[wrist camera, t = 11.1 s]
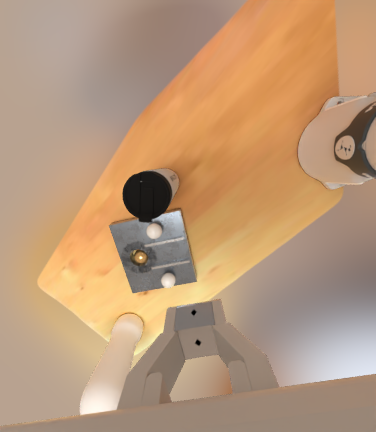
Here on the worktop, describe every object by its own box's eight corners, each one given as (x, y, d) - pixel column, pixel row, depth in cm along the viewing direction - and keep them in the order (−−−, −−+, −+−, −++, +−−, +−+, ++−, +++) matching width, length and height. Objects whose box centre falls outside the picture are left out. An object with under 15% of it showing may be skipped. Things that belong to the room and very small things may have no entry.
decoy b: (161, 219, 42) (158, 224, 38) (164, 233, 43) (162, 239, 39) (146, 223, 42) (142, 228, 39) (150, 236, 43) (147, 242, 39)
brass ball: (145, 245, 47) (147, 250, 43) (149, 257, 48) (151, 262, 44) (132, 249, 46) (132, 254, 43) (136, 261, 47) (136, 267, 43)
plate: (180, 208, 43) (179, 211, 40) (196, 275, 48) (196, 283, 45) (113, 222, 45) (107, 226, 41) (135, 287, 50) (131, 295, 46)
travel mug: (151, 196, 43) (120, 221, 24) (152, 167, 41) (119, 169, 22) (178, 198, 43) (169, 225, 24) (180, 169, 41) (171, 173, 22)
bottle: (146, 315, 52) (93, 501, 23) (141, 336, 54) (87, 531, 25) (118, 309, 52) (28, 491, 23) (114, 330, 54) (28, 523, 25)
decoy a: (174, 268, 45) (173, 277, 42) (177, 280, 46) (176, 289, 43) (160, 271, 45) (158, 279, 42) (164, 283, 46) (162, 292, 43)
